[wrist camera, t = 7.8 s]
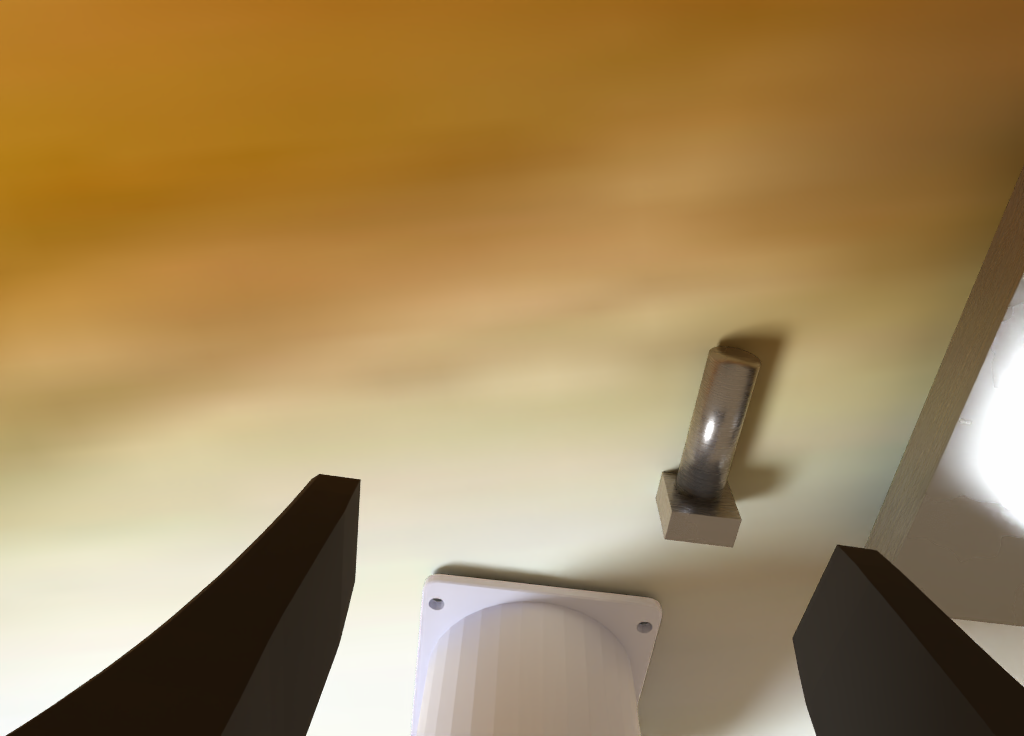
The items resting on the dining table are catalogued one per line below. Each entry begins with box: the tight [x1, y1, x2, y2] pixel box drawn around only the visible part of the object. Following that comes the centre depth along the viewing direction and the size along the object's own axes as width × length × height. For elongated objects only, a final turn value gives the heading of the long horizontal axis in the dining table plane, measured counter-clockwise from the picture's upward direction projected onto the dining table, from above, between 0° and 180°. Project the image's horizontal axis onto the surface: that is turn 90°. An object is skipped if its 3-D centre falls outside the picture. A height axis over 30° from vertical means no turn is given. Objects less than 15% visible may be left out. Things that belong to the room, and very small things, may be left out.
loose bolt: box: [656, 347, 761, 547], centre depth 21 cm, size 5×2×2 cm, turn 173°
